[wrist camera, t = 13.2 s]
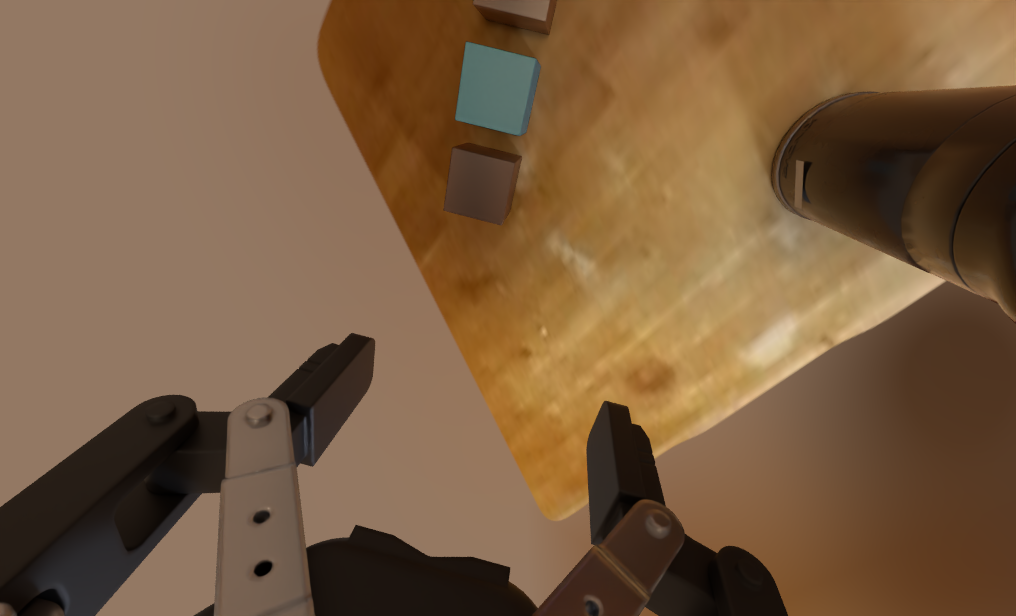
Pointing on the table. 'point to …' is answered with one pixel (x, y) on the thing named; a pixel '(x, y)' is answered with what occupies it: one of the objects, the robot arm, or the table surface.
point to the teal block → (496, 89)
